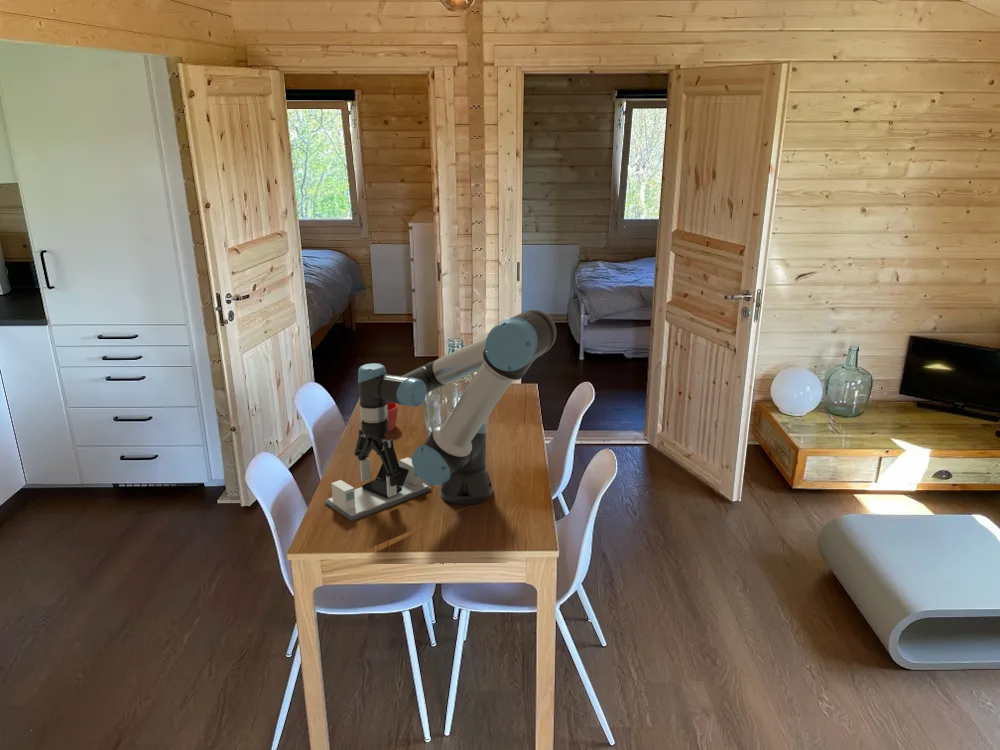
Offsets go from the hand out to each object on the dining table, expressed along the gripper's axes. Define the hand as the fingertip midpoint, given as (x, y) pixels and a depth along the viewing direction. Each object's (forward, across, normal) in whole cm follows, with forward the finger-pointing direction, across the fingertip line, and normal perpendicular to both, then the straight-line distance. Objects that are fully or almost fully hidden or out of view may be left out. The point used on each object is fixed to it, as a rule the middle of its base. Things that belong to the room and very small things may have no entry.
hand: (378, 487), depth 209 cm
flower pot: (+3, +42, -30) cm, 52 cm away
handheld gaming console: (+2, 0, 0) cm, 3 cm away
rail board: (+3, 0, 0) cm, 3 cm away
